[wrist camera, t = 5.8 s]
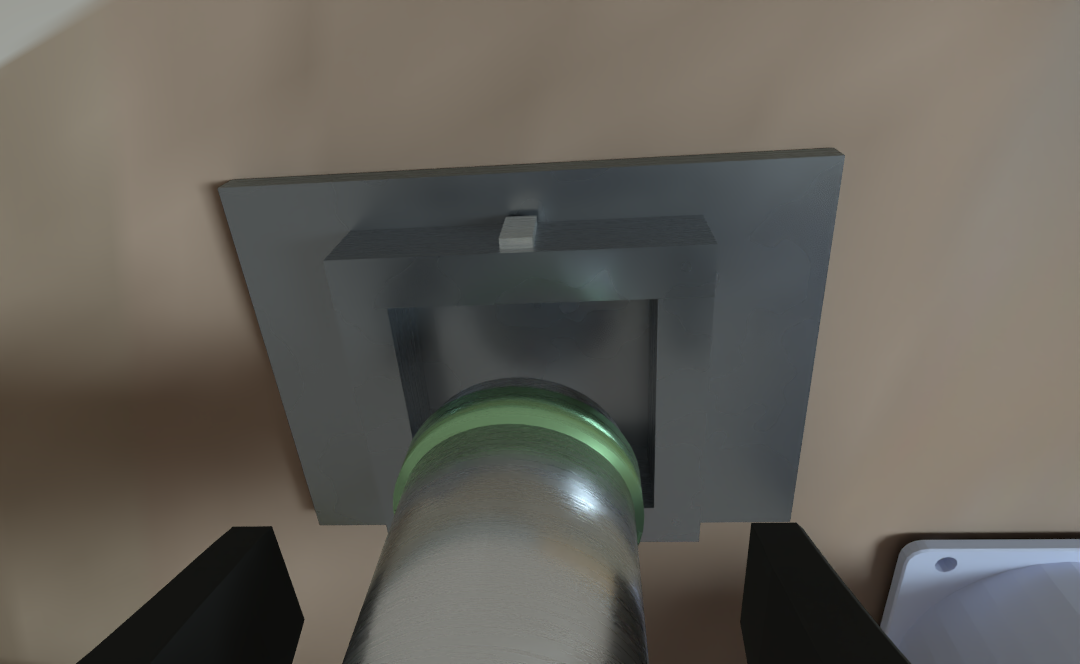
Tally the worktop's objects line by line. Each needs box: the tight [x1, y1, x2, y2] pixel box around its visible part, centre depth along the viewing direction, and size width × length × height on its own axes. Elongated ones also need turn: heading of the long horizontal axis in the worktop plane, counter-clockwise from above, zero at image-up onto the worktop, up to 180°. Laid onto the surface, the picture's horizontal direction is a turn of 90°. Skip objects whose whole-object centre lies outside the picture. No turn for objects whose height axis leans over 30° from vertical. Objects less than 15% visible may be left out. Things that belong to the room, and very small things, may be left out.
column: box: [342, 377, 649, 664], centre depth 9 cm, size 4×4×6 cm
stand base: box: [218, 148, 845, 542], centre depth 14 cm, size 12×9×2 cm
